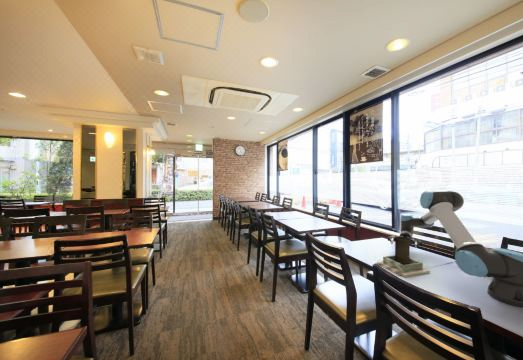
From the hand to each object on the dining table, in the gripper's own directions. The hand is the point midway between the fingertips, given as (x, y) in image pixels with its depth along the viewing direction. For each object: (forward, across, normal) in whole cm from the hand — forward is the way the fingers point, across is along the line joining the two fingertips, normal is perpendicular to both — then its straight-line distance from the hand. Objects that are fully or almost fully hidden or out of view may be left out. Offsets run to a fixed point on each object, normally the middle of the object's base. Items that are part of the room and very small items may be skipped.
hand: (403, 244), depth 143 cm
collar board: (+9, 0, -13) cm, 16 cm away
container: (+9, 0, -12) cm, 15 cm away
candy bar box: (-15, -39, -13) cm, 44 cm away
